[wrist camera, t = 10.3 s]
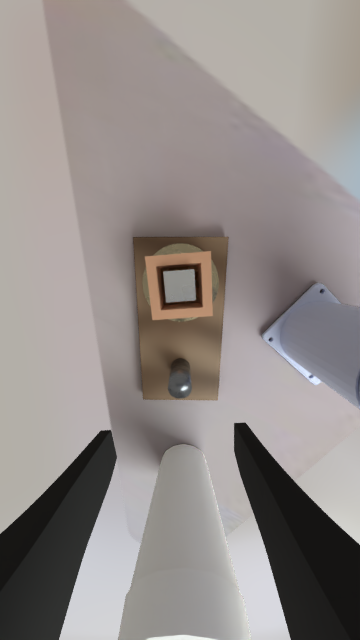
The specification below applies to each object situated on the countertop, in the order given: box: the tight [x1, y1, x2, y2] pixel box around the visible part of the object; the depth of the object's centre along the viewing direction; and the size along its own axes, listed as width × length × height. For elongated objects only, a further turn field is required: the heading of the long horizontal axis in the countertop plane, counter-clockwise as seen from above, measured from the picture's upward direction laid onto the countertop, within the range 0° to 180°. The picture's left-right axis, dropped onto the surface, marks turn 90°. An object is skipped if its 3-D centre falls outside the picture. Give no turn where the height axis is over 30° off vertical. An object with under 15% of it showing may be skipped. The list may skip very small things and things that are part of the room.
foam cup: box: [118, 444, 251, 640], centre depth 17 cm, size 10×9×13 cm
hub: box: [142, 244, 219, 322], centre depth 15 cm, size 8×8×4 cm
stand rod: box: [168, 358, 192, 399], centre depth 17 cm, size 2×2×4 cm
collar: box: [145, 251, 213, 320], centre depth 15 cm, size 5×5×3 cm
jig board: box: [133, 237, 228, 400], centre depth 18 cm, size 18×9×1 cm, turn 0°
